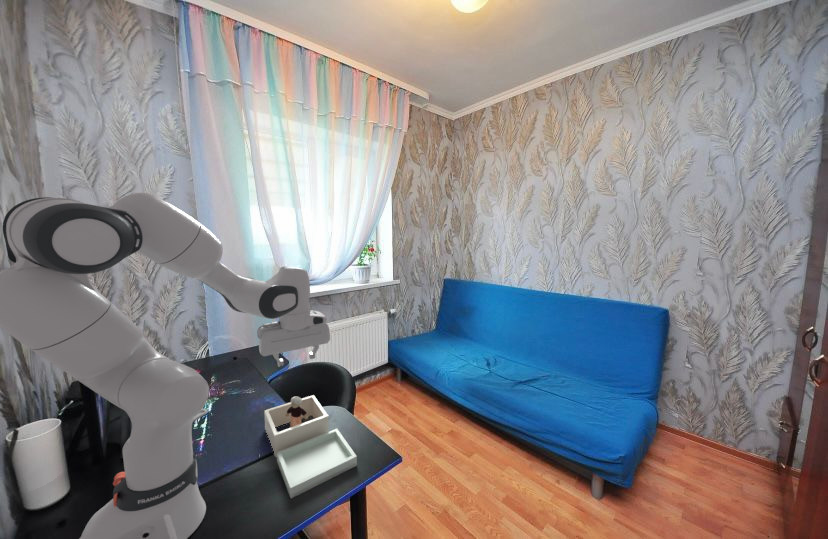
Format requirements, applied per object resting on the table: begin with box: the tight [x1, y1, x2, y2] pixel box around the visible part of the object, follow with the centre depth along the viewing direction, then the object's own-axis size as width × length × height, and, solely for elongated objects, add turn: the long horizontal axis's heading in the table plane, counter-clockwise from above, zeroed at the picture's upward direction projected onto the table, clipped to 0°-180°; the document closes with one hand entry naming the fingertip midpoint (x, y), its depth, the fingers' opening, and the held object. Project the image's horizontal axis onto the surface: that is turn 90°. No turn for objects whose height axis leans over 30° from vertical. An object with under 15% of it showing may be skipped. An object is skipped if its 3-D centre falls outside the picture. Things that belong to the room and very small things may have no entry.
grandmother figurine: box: [286, 396, 309, 428], centre depth 96 cm, size 8×4×13 cm, turn 90°
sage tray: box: [276, 428, 358, 499], centre depth 85 cm, size 18×14×3 cm
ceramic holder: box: [263, 394, 330, 458], centre depth 96 cm, size 16×14×7 cm
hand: (296, 361), depth 92 cm, fingers open, 8 cm apart
